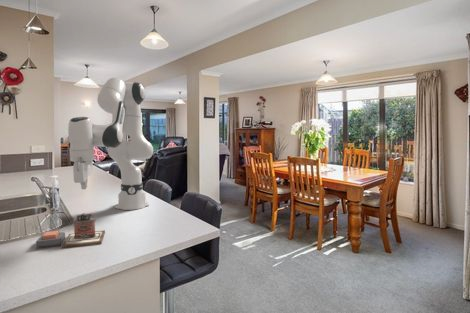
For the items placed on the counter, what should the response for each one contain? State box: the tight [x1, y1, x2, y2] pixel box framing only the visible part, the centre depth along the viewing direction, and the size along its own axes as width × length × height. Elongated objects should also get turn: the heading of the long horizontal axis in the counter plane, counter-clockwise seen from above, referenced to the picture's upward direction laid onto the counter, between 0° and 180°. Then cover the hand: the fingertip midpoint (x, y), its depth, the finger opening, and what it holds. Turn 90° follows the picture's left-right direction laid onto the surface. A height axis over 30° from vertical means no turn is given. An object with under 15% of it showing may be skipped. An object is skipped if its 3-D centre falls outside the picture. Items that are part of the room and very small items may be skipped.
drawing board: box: [61, 230, 106, 249], centre depth 117 cm, size 13×14×1 cm
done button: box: [43, 230, 60, 239], centre depth 113 cm, size 4×4×3 cm
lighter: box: [72, 212, 96, 239], centre depth 117 cm, size 8×3×10 cm, turn 105°
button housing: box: [35, 231, 66, 250], centre depth 113 cm, size 8×8×3 cm
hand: (84, 188), depth 119 cm, fingers closed
